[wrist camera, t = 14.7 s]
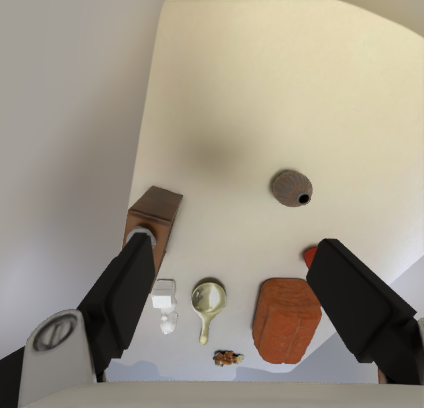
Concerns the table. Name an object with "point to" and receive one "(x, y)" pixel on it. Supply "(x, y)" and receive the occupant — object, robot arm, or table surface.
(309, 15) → the table surface
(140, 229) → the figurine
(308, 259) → the apple
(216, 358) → the pastry
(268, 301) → the bread
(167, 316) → the container set
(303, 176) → the vase
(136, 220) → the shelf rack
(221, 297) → the spoon
